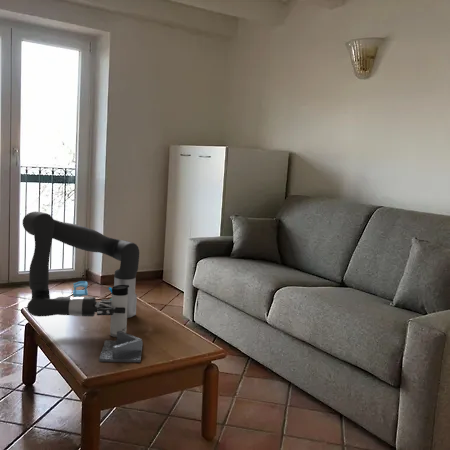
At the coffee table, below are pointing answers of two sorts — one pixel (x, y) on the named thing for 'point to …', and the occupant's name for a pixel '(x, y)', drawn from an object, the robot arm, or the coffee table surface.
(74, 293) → the chair
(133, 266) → the robot arm
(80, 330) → the coffee table surface
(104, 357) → the v block
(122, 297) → the travel mug
